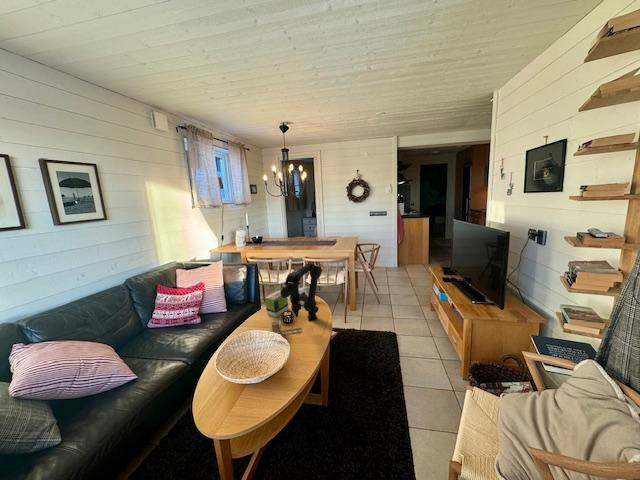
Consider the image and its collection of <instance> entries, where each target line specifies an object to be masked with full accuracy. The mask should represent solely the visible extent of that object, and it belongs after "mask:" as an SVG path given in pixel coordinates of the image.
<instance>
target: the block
mask: <svg viewBox="0 0 640 480" xmlns="http://www.w3.org/2000/svg"><path fill="white" fill-rule="evenodd" d="M271 328H272V332H275V331H279V320H272V321H271Z"/></svg>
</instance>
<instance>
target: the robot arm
mask: <svg viewBox="0 0 640 480" xmlns="http://www.w3.org/2000/svg"><path fill="white" fill-rule="evenodd" d="M322 272H323V269H322V267H321V266H318V265H315V264H313V263H309V262H307V263H306V264H305V265H304V266H303V267H300V268H299V269H298V270H297V271H293V272H291V273H289V274H287V276H286V280H285V281H284V286H283V287H281V288H282V289H281V290H280V291H281V292H280V294H281V296H282V297H283V298H286V297H287V298H289V297H288V296H290V300H289V301H290V308H291V312H292V313H293V314H294V316H295V318H298V317H299V312H300V311H301V310H302V305H301V304H300V301H304V305H303V309H304V310H305V311H306V312H307V313H308V314H307V321H308V322H309V321H310V322H312V321H317V320H318V316H317V313H318V312H319V307H318V306H317V302H316V293H317V287H318V281H319V278H320V277H321V276H322ZM307 273H309V275H310V284H309V287H310V288H309V292H308V296H307V295H305V292H303V293H302V294H299V288H300V287H299V285H300V284H301V282H300V281H301V279H302V277H303V276H304V275H306V274H307Z"/></svg>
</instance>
